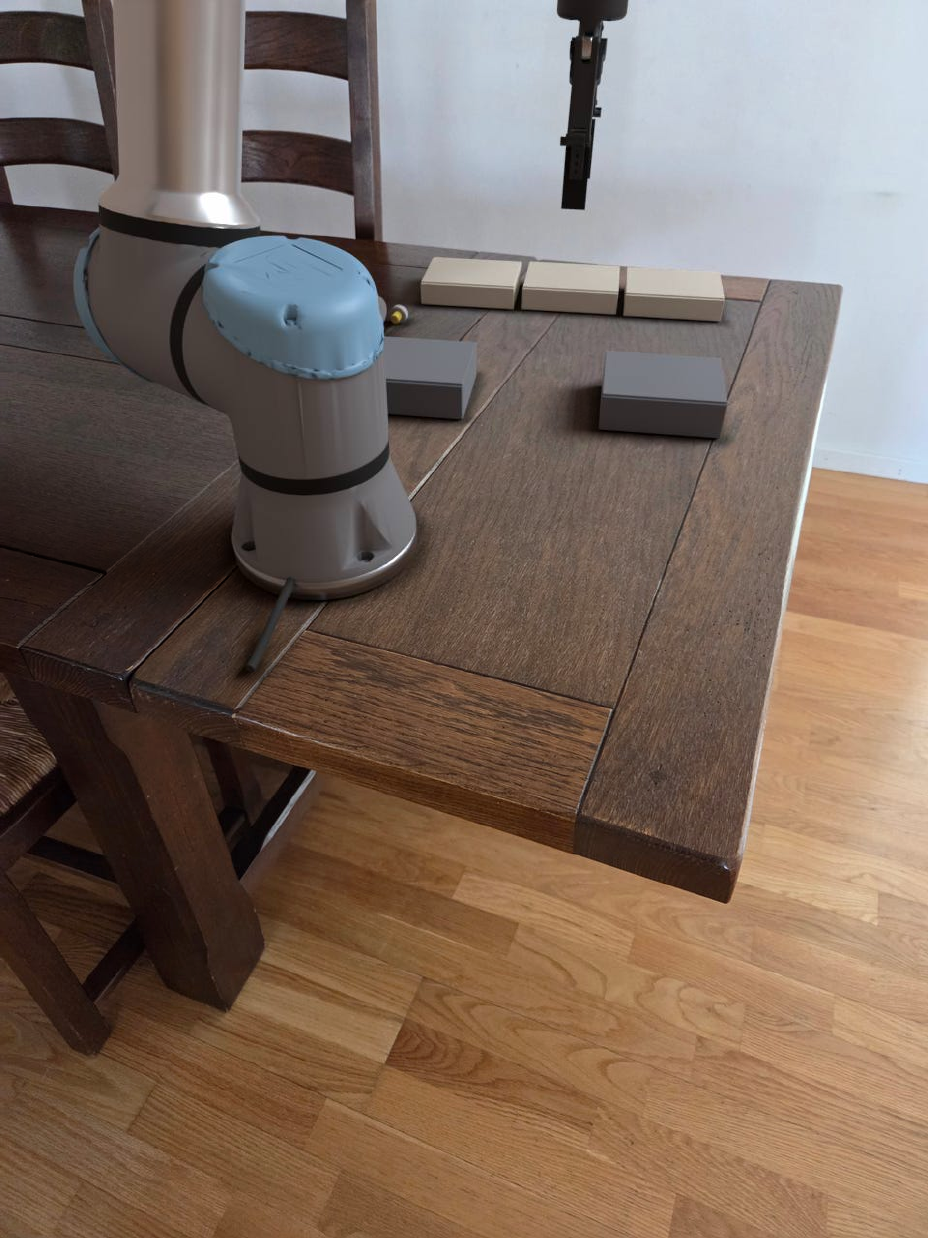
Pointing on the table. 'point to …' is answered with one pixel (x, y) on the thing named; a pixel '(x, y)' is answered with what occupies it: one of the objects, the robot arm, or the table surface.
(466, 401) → the grey lidded box
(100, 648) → the table surface
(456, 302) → the cream flat block
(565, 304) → the beige flat box
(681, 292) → the cream lidded box
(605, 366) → the dark grey box
